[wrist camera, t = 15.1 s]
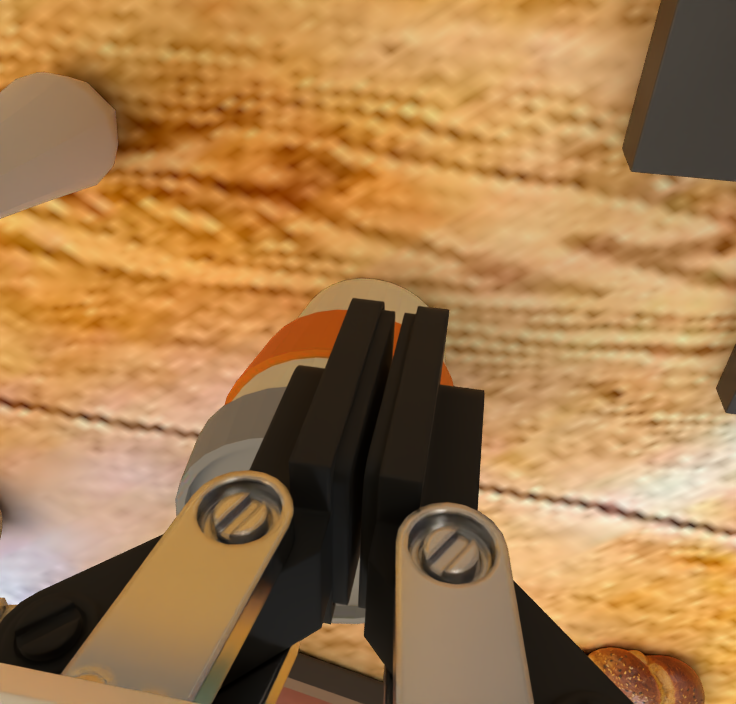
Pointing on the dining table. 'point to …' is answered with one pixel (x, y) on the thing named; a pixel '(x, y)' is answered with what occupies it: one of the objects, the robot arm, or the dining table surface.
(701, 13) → the fryer panel
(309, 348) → the reusable coffee cup
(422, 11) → the dining table surface
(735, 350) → the block
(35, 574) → the dining table surface
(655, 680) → the braided bread roll
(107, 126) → the salt shaker
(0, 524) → the ceramic mug
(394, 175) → the dining table surface
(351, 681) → the toaster
